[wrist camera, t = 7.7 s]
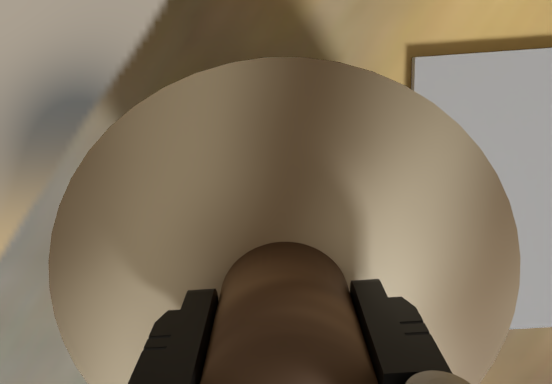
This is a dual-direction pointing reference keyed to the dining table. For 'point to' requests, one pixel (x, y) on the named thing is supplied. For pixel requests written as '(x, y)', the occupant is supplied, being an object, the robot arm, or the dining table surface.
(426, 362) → the robot arm
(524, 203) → the mat
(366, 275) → the lid
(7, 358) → the dining table surface
